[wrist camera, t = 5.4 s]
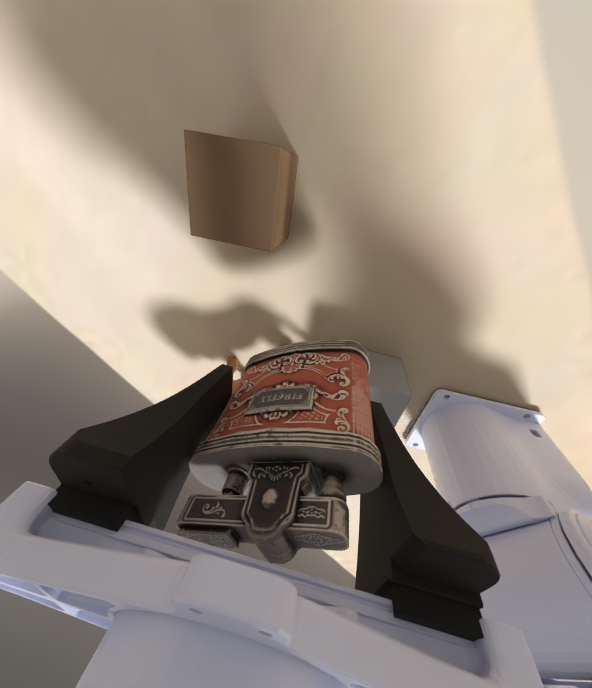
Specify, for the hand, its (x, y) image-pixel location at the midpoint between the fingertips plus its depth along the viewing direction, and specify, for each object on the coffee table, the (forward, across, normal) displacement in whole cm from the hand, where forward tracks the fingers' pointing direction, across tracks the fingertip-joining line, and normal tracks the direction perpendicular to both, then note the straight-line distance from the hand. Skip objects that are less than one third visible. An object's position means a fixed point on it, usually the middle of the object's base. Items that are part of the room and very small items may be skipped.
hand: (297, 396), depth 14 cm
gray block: (+10, -6, +4) cm, 12 cm away
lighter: (+3, 0, 0) cm, 3 cm away
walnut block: (+10, +6, -8) cm, 14 cm away
